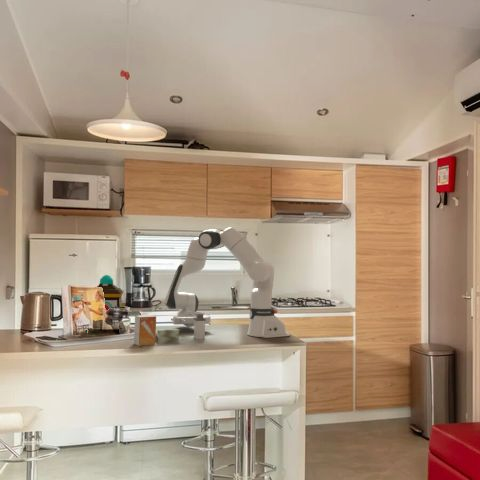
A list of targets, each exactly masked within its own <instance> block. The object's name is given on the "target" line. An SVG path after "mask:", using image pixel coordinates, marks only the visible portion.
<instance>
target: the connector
mask: <svg viewBox="0 0 480 480" xmlns="http://www.w3.org/2000/svg"><path fill="white" fill-rule="evenodd" d="M205 321H206V319H205V318H203V314H196V318H194V326H193V339H195V340H205V339H206V324H205Z"/></svg>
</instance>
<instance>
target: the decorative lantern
mask: <svg viewBox="0 0 480 480" xmlns="http://www.w3.org/2000/svg"><path fill="white" fill-rule="evenodd" d="M96 287H102V288H103V292H104V298H105V308H106V310H108V309H109V308H110V307H115V306H118V307H125V304H124V302H123V301H122V296H123V295H124V291H123V289H121V288H120V287H118V286H117V285H115V284H114V279H113V277H112V276H111V275H109V274H104V275H103V276H101V278H100V279H99V284H98V285H97V286H96ZM125 308H126V307H125Z"/></svg>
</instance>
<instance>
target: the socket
mask: <svg viewBox="0 0 480 480" xmlns="http://www.w3.org/2000/svg"><path fill="white" fill-rule="evenodd" d="M155 343H156V344H176V343H177V344H178V343H180V329H179V328H178V329H175V328H174V329H157V332H156V337H155Z"/></svg>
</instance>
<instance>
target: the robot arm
mask: <svg viewBox="0 0 480 480" xmlns="http://www.w3.org/2000/svg"><path fill="white" fill-rule="evenodd" d="M224 247H225V248H226V249H227V250H228V251H229V252H230V253H231V254H232V255H233V257H234V258H235V259H236V260H237V261H238V262H239V264H240V266H242V269H244V271H245V272H246V273H247V275H248V276H249V277H250V280H252V281H253V282H252V288H251V292H250V307H249V312H248V313H249V325H248V330H247V334H246V335H247V336H251V337H255V338H258V337H259V338H265V339H267V338H268V339H269V338H270V339H271V338H279V337H290V336H291V335H290V333H289V332H288V331H286V326H285V323H284V322H283V321H282V320H281V319H279V318H278V317H277V316H276V315H275V314H278V313H279V310H278V309H276V308H275V309H274V308H272V305H273V304H272V303H273V302H272V295H273V287H274V277H275V268H274V266H273V265H272V264H271V263H270V262H269V261H265V260H264V259H263V258H262V257H261V255H260V254H259V253H258V252H257V250H256V248H255V247H254V246H253V245H252V244H251V243H250V242H249V241H248V239H247V238H246V237H245V236H244V235H243V234H242V233H241V232H240V231H238V230H237V229H236V228H234V227H232V226H231V227H227V228H225V229H224V230H223V229H215V228H211V229H205V230H203V231H202V232H201V233H200V234H199V236H198V237H195V238H193V239H191V241H190V243H189V246H188V249H187V252H186V257H185V260H184V261H183V262H182V263H180V264H179V265H178V267H177V269H176V270H175V274H174V276H173V279H172V281H171V284H170V286H169V289H168V291H167V294H166V296H165V298H164V304H165V305H166V307H167V308H168V309H169V310H178V312H177V314H176V316H173V317H172V318H170V321H171V322H172V323H173V325H175V326H176V325H183V326H185V327H186V328H192V327H194V318H196V314H203V318H205V319H206V321H205V325H207V324H211V320H212V319H211V316H210V315H208V314H205V312H201V311H198V309H199V302H200V301H199V298H198V296H197V295H196V293H193V292H192V293H191V292H184V291H183V292H182V291H181V292H180V291H178V290H179V287H180V285H181V282H182V280H183V278H185V277H186V276H189V275H193V274H194V275H195V274H198V273H200V272H201V271H203V269H204V268H205V265H206V261H207V256H208V252H209V251H210V250H218V249H221V248H224Z"/></svg>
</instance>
